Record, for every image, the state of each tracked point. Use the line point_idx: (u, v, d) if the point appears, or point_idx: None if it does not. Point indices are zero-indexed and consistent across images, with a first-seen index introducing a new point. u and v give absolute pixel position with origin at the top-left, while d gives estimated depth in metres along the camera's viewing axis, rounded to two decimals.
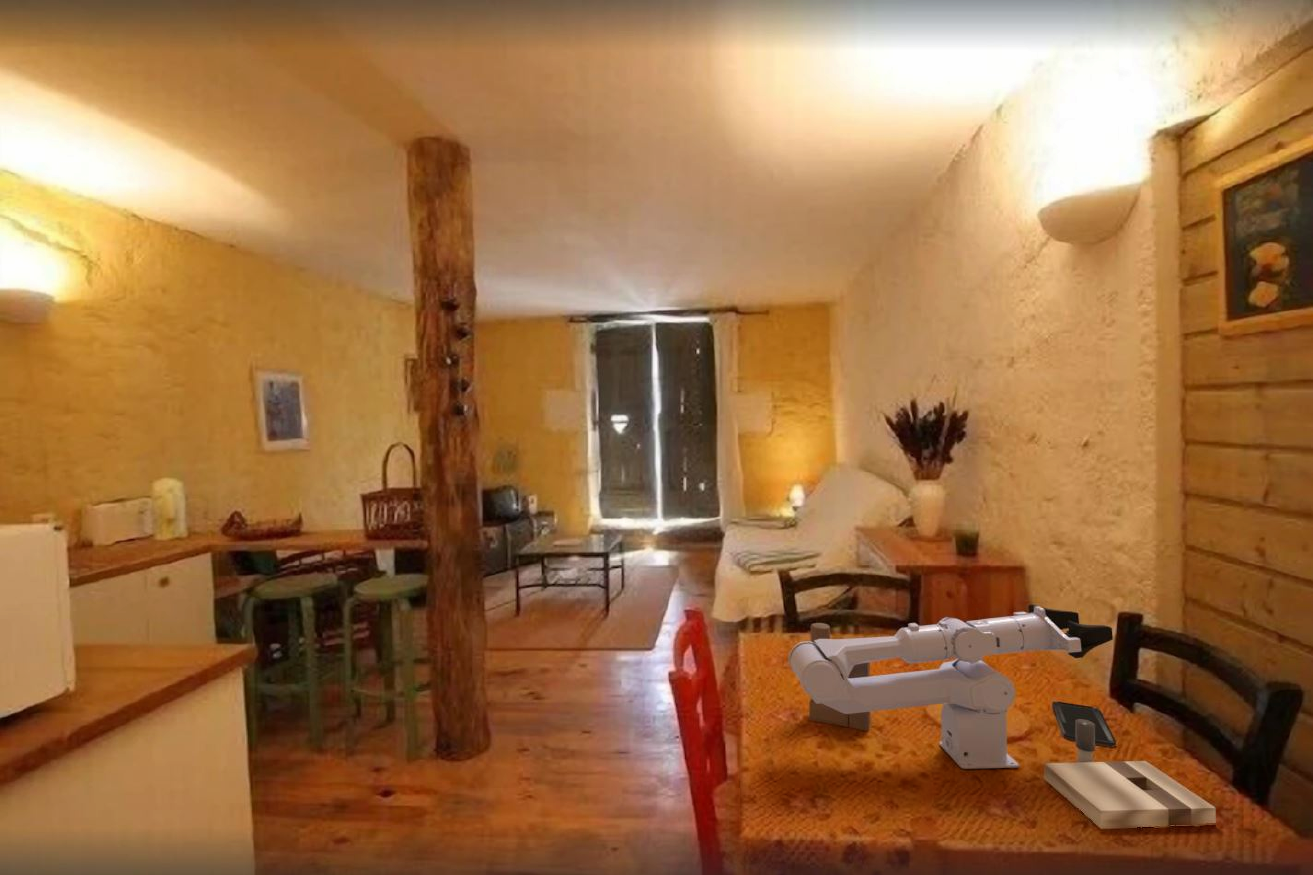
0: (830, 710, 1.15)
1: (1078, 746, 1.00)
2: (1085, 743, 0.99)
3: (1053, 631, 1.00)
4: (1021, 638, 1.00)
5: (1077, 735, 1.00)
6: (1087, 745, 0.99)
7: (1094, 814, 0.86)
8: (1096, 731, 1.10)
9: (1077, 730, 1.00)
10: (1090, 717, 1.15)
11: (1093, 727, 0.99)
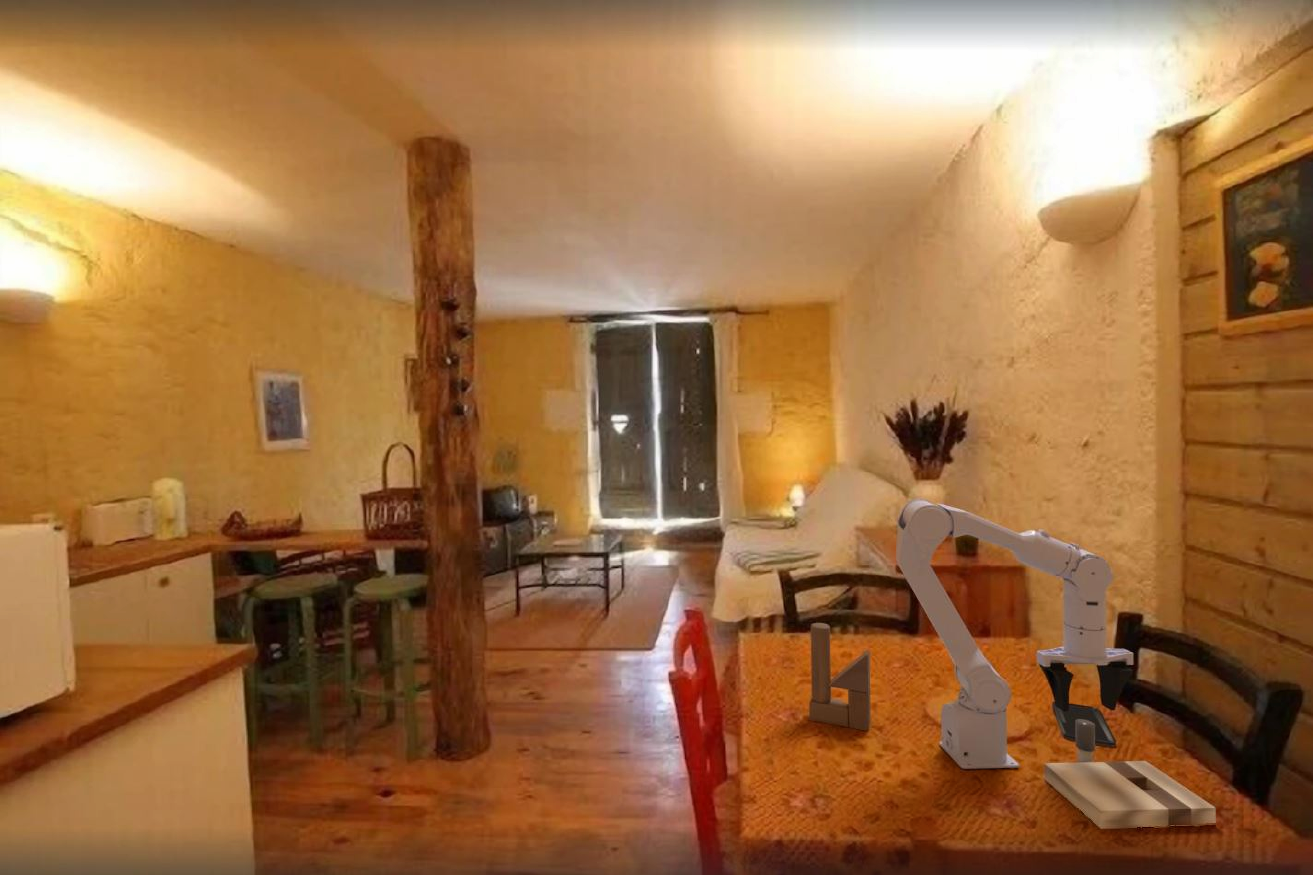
0: (830, 710, 1.15)
1: (1078, 746, 1.00)
2: (1085, 743, 0.99)
3: None
4: (1094, 628, 0.97)
5: (1077, 735, 1.00)
6: (1087, 745, 0.99)
7: (1094, 814, 0.86)
8: (1096, 731, 1.10)
9: (1077, 730, 1.00)
10: (1090, 717, 1.15)
11: (1093, 727, 0.99)
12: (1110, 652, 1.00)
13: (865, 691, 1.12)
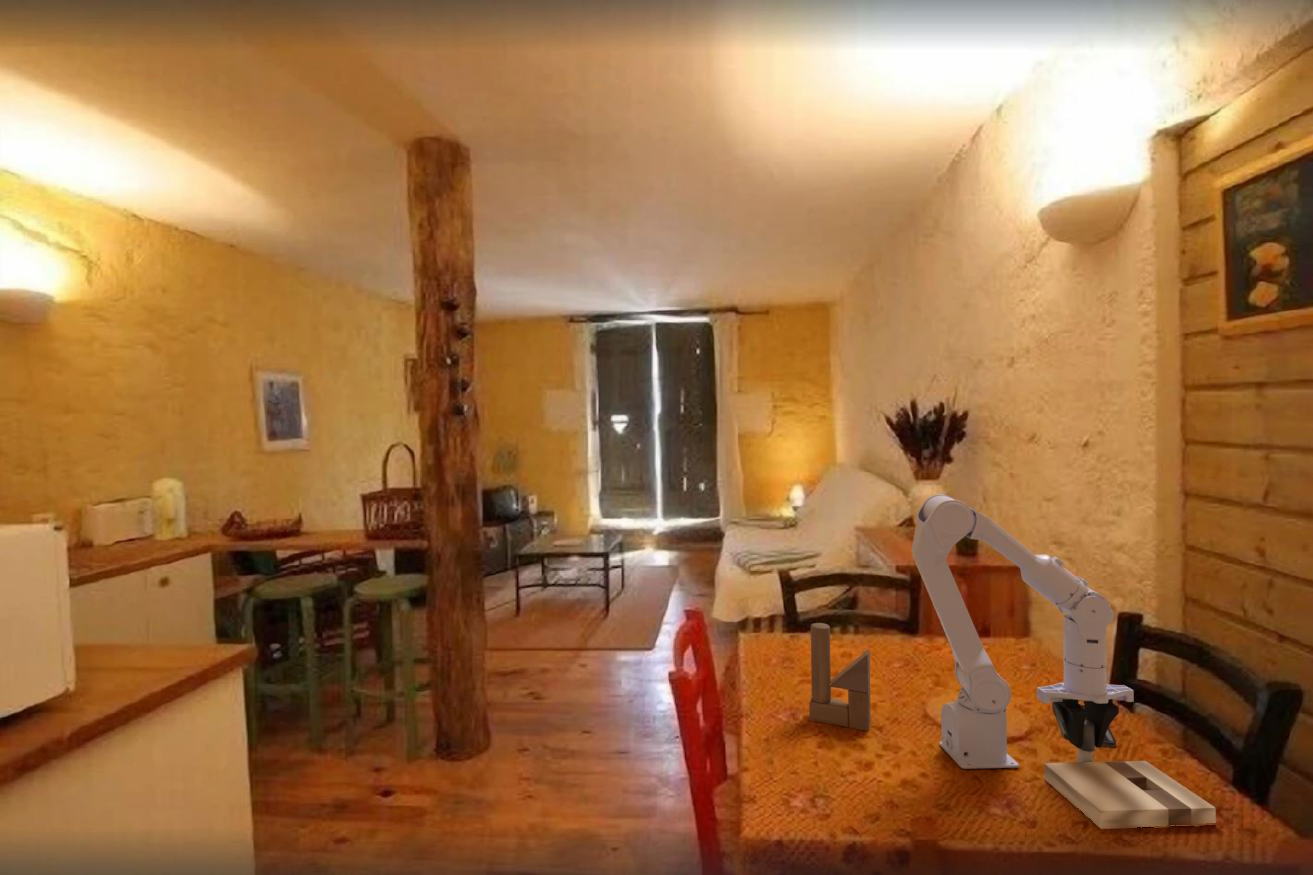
0: (830, 710, 1.15)
1: None
2: (1085, 743, 0.99)
3: (1070, 693, 0.99)
4: (1094, 666, 0.97)
5: None
6: (1087, 745, 0.99)
7: (1094, 814, 0.86)
8: None
9: None
10: None
11: (1093, 727, 0.99)
12: (1110, 689, 1.00)
13: (865, 691, 1.12)
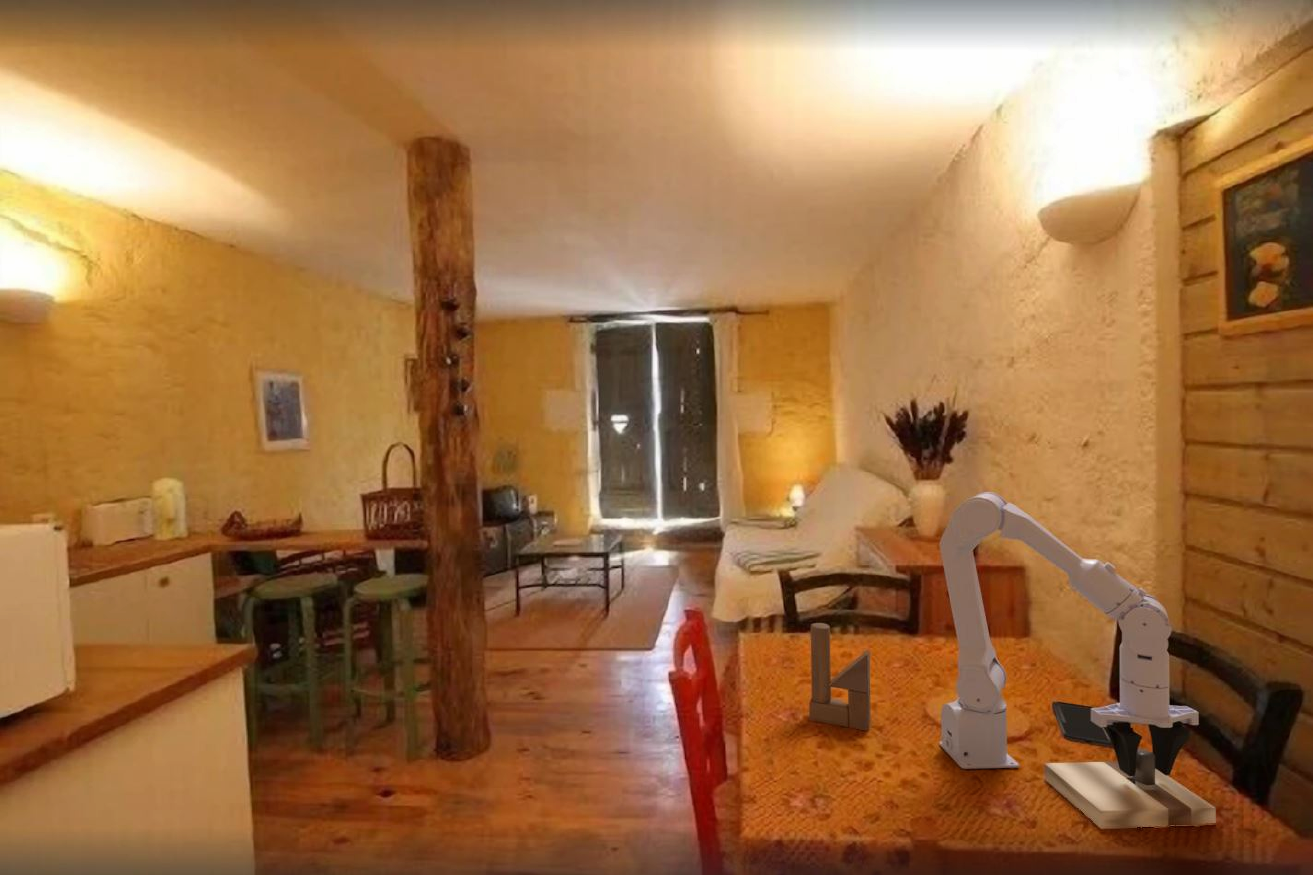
0: (830, 710, 1.15)
1: (1136, 779, 0.90)
2: (1145, 776, 0.89)
3: (1128, 716, 0.89)
4: (1147, 684, 0.88)
5: None
6: (1147, 778, 0.89)
7: (1094, 814, 0.86)
8: (1096, 731, 1.10)
9: None
10: (1090, 717, 1.15)
11: (1153, 758, 0.89)
12: (1172, 710, 0.90)
13: (865, 691, 1.12)
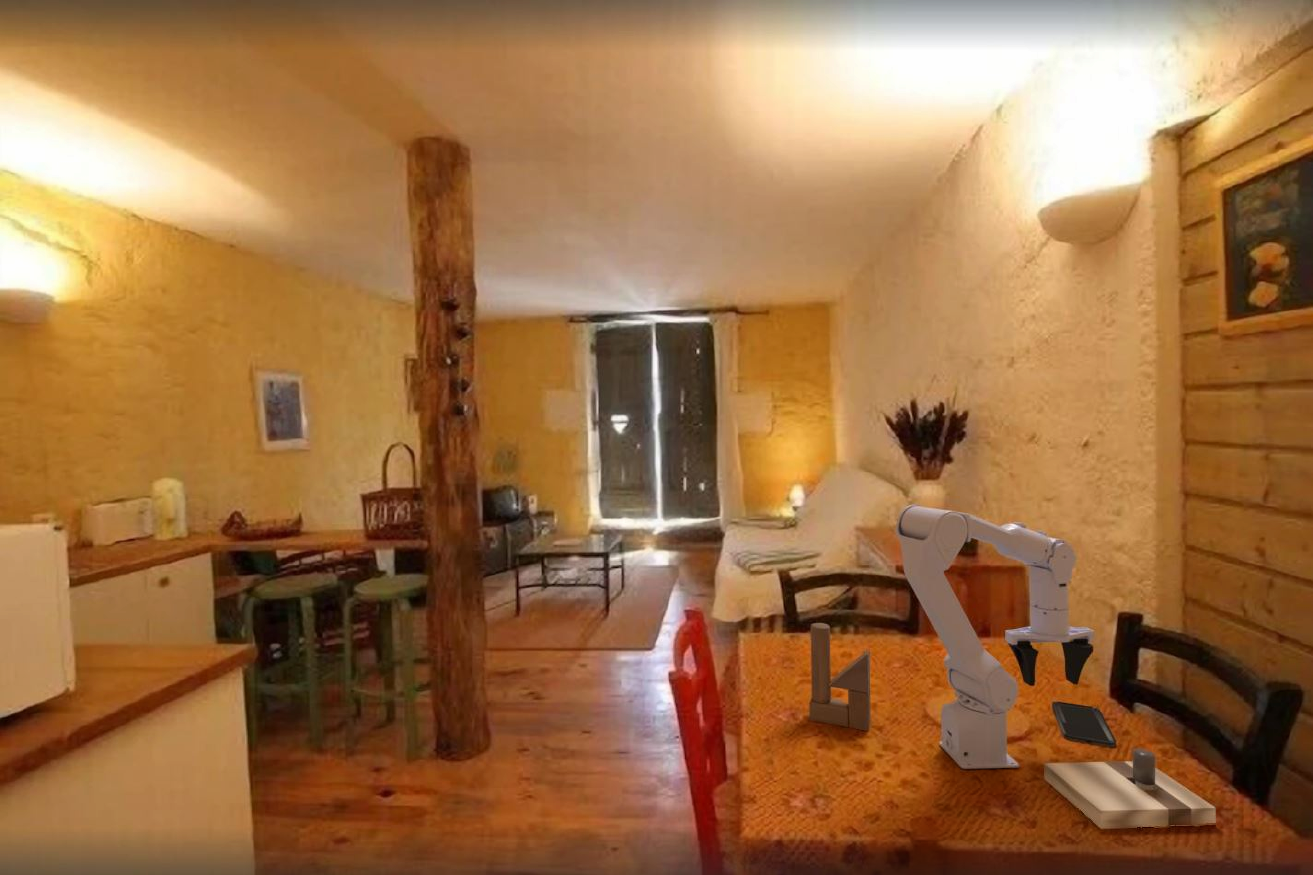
0: (830, 710, 1.15)
1: (1136, 779, 0.90)
2: (1145, 776, 0.89)
3: (1035, 635, 1.06)
4: (1065, 607, 1.05)
5: (1135, 767, 0.90)
6: (1147, 778, 0.89)
7: (1094, 814, 0.86)
8: (1096, 731, 1.10)
9: (1135, 761, 0.90)
10: (1090, 717, 1.15)
11: (1154, 758, 0.89)
12: (1073, 630, 1.07)
13: (865, 691, 1.12)
